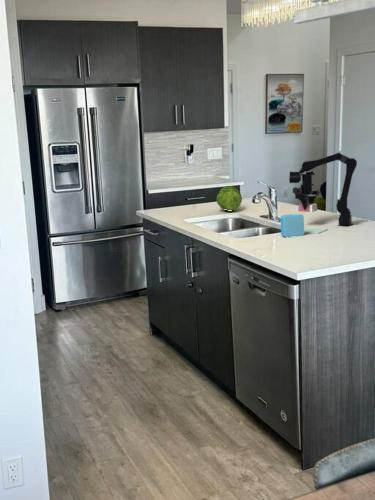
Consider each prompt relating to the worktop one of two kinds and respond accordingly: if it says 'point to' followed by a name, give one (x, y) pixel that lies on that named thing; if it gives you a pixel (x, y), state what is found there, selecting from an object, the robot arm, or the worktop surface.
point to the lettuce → (229, 198)
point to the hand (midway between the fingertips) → (307, 208)
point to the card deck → (308, 208)
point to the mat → (314, 230)
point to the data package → (292, 225)
